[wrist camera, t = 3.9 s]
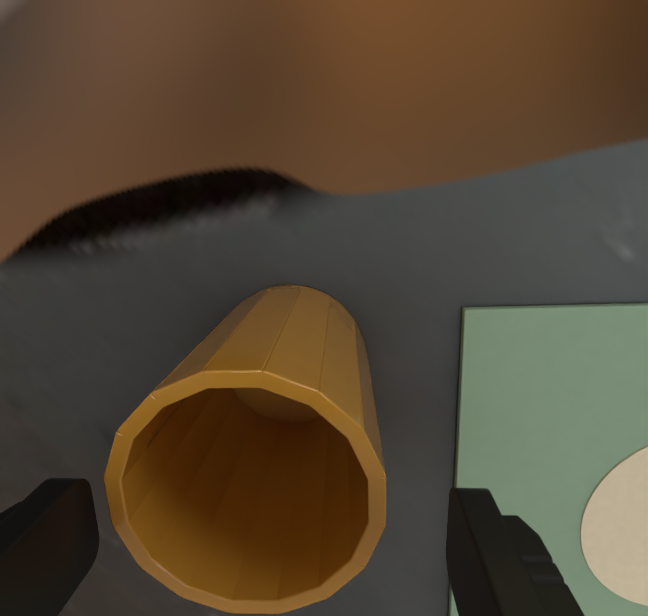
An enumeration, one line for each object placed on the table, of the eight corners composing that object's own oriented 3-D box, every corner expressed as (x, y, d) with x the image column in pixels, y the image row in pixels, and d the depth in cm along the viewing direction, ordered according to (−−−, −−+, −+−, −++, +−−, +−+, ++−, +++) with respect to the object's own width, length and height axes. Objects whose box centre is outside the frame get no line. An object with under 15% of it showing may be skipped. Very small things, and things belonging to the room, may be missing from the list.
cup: (226, 423, 19) (127, 613, 10) (212, 286, 18) (82, 373, 9) (366, 422, 19) (386, 616, 10) (364, 282, 17) (386, 368, 8)
